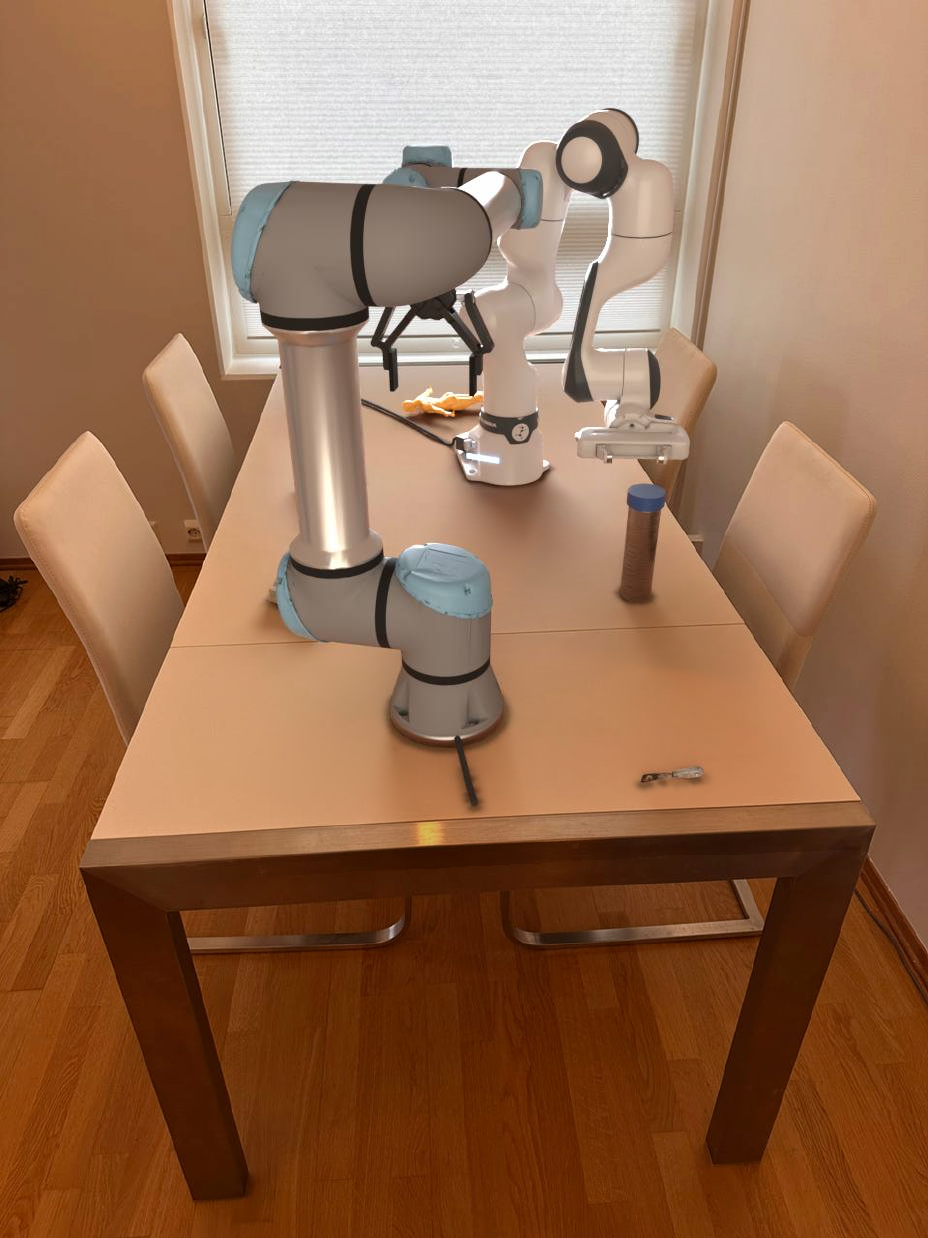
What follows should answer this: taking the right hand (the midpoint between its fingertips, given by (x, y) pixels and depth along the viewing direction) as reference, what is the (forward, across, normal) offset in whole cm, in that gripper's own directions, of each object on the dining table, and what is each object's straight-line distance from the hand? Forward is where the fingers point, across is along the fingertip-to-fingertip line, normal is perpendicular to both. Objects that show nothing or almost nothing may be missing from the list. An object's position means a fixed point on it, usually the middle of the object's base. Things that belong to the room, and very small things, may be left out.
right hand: (635, 459), depth 157 cm
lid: (+21, 0, -3) cm, 21 cm away
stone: (+27, -54, +15) cm, 62 cm away
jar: (+21, 0, +15) cm, 26 cm away
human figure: (-68, -40, +14) cm, 80 cm away
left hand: (+4, -35, -13) cm, 38 cm away
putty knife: (+66, +1, +16) cm, 68 cm away
